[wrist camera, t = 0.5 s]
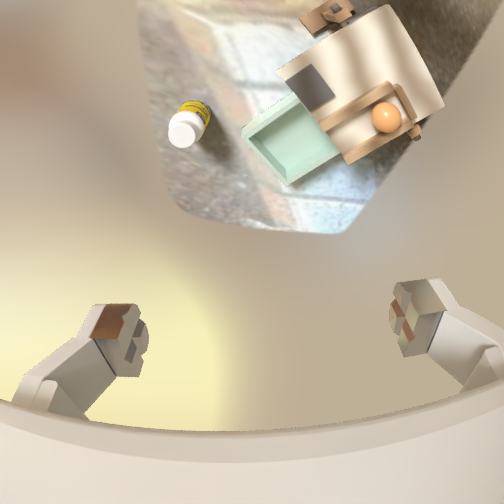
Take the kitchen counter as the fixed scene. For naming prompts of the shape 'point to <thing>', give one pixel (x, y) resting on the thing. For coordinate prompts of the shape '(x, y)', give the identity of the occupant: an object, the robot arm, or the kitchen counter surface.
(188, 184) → the kitchen counter surface
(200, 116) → the supplement bottle
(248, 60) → the kitchen counter surface
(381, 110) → the ball
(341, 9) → the lever stand
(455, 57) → the kitchen counter surface
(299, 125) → the green square tray
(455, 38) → the kitchen counter surface
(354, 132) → the lever
